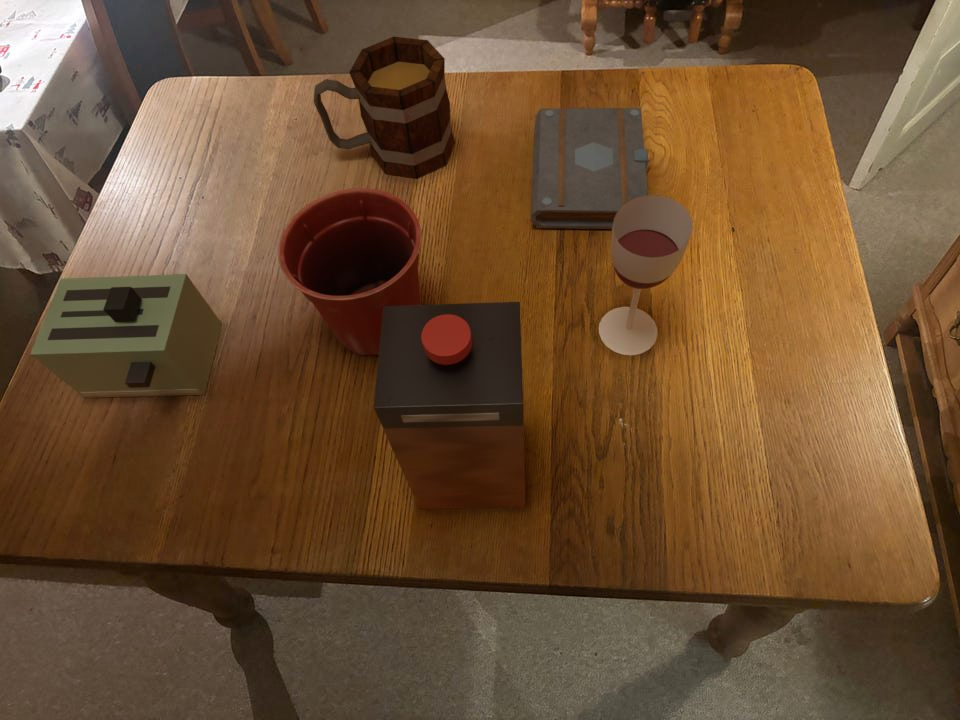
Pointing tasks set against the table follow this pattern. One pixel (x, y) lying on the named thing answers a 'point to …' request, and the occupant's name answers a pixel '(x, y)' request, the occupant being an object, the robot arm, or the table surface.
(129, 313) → the slider
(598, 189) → the book
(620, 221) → the wineglass
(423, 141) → the mug
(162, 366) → the toaster
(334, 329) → the flower pot
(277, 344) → the table surface
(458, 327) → the timer button
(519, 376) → the red button pedestal
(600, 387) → the table surface
